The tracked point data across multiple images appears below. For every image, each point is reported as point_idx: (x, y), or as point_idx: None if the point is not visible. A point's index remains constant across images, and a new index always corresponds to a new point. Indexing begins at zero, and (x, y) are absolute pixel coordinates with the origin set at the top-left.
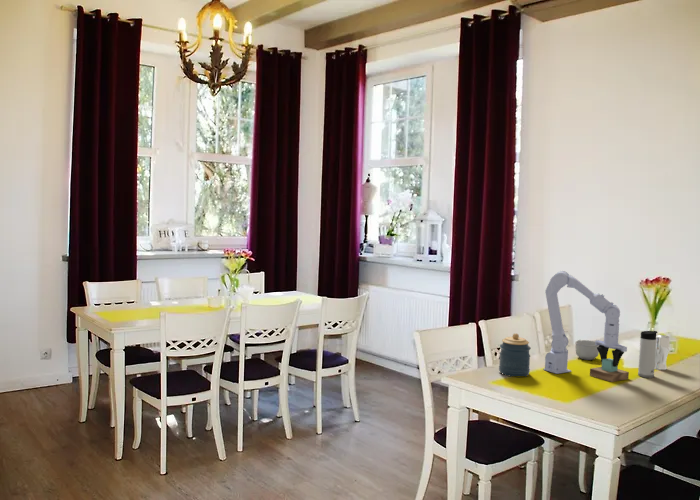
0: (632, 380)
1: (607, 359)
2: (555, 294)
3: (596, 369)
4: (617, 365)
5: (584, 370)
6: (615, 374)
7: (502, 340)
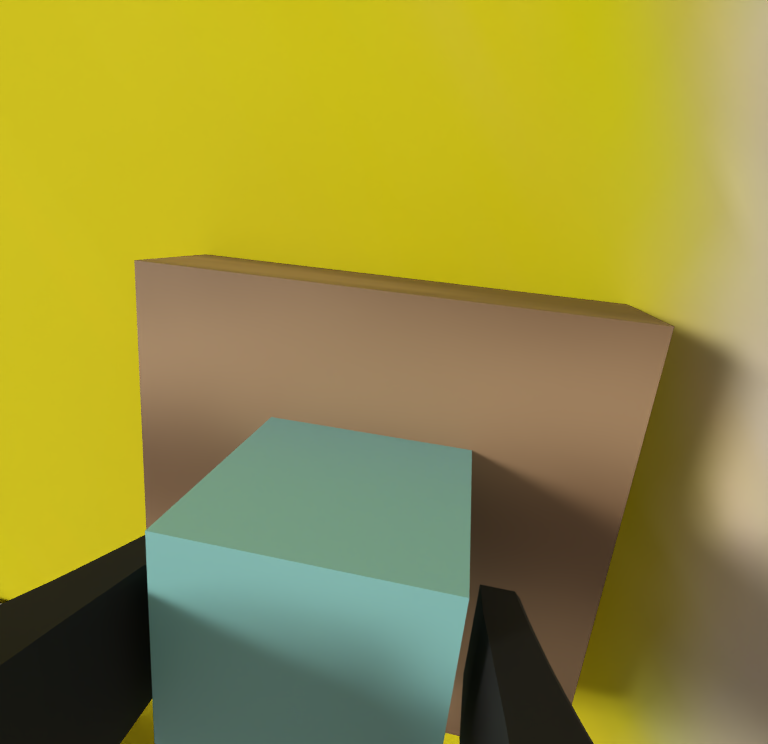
0: (724, 333)
1: (222, 689)
2: None
3: None
4: (521, 618)
5: (12, 417)
6: (576, 684)
7: None
